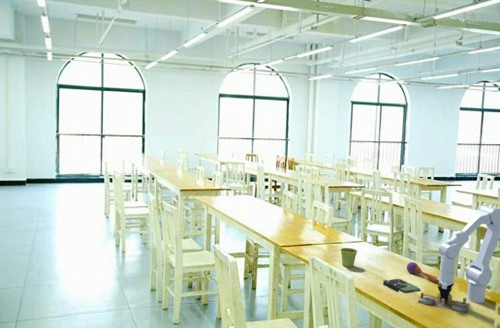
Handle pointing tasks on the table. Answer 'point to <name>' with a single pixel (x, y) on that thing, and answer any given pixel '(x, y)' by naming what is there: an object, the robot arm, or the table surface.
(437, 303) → the gear board
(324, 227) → the table surface
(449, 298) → the brass gear
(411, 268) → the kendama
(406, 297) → the table surface
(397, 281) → the disk drive
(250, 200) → the table surface
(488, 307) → the table surface
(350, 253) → the plant pot
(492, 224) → the robot arm
